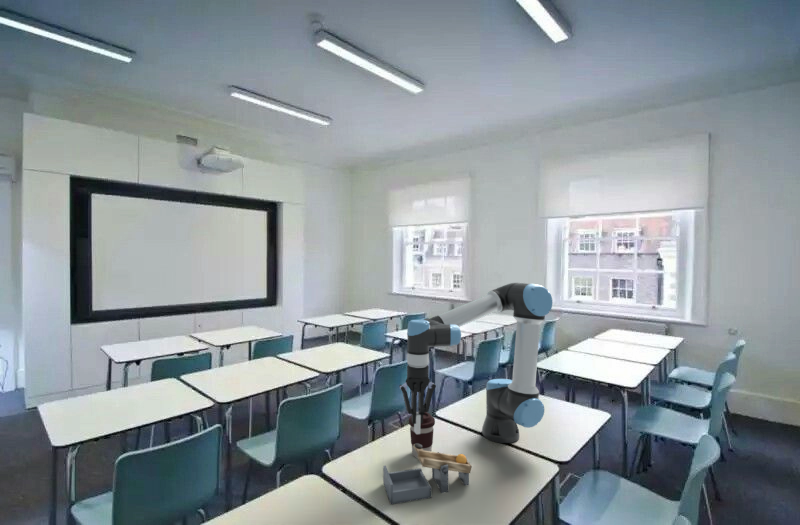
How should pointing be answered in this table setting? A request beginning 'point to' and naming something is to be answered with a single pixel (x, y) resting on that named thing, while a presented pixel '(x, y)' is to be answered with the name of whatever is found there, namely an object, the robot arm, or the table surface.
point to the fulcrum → (441, 477)
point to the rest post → (464, 478)
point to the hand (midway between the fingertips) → (417, 432)
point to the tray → (406, 485)
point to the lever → (440, 460)
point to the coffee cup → (423, 433)
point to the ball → (461, 459)
